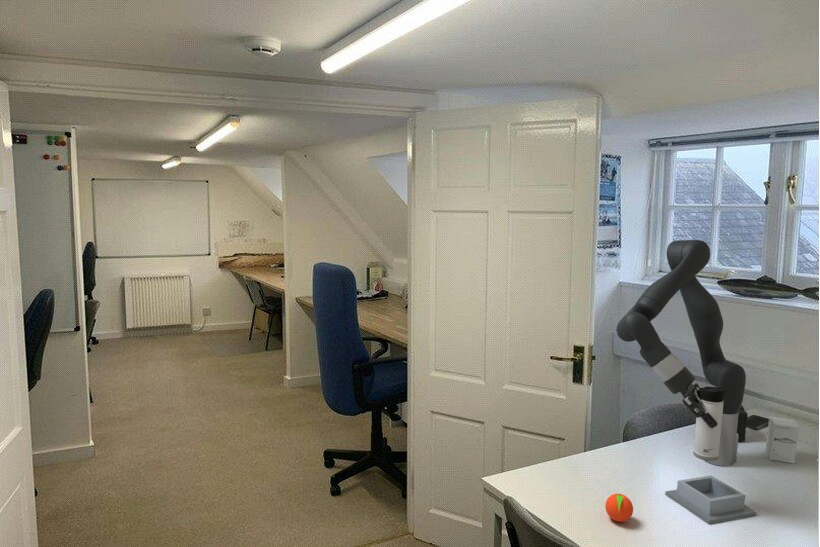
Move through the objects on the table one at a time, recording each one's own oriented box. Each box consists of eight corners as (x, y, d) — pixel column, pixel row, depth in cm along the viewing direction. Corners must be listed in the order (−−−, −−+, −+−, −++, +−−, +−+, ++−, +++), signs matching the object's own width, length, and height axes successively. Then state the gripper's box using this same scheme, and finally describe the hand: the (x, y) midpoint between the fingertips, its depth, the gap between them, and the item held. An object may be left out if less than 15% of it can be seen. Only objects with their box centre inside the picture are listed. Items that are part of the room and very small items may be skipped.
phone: (775, 420, 228) (757, 428, 220) (774, 423, 229) (756, 431, 220) (753, 414, 235) (735, 422, 226) (753, 417, 235) (734, 425, 226)
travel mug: (709, 463, 161) (715, 392, 158) (688, 454, 166) (693, 385, 164) (724, 459, 163) (731, 389, 161) (703, 449, 169) (709, 382, 166)
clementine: (632, 531, 152) (634, 505, 151) (603, 526, 154) (605, 500, 153) (632, 516, 159) (634, 491, 158) (605, 510, 161) (606, 486, 161)
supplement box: (769, 460, 195) (772, 423, 194) (765, 451, 202) (768, 415, 200) (795, 464, 192) (799, 427, 191) (790, 455, 199) (794, 419, 198)
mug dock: (709, 487, 176) (711, 471, 175) (755, 515, 161) (757, 497, 160) (665, 494, 171) (666, 478, 170) (708, 524, 156) (710, 506, 155)
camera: (694, 428, 221) (697, 389, 219) (734, 431, 219) (738, 392, 217) (704, 440, 210) (708, 399, 208) (746, 443, 208) (750, 402, 206)
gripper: (679, 371, 160) (725, 423, 155) (687, 359, 172) (730, 407, 167) (657, 387, 163) (701, 438, 158) (666, 374, 175) (708, 421, 171)
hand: (716, 422), depth 163 cm, fingers closed on travel mug, 6 cm apart
